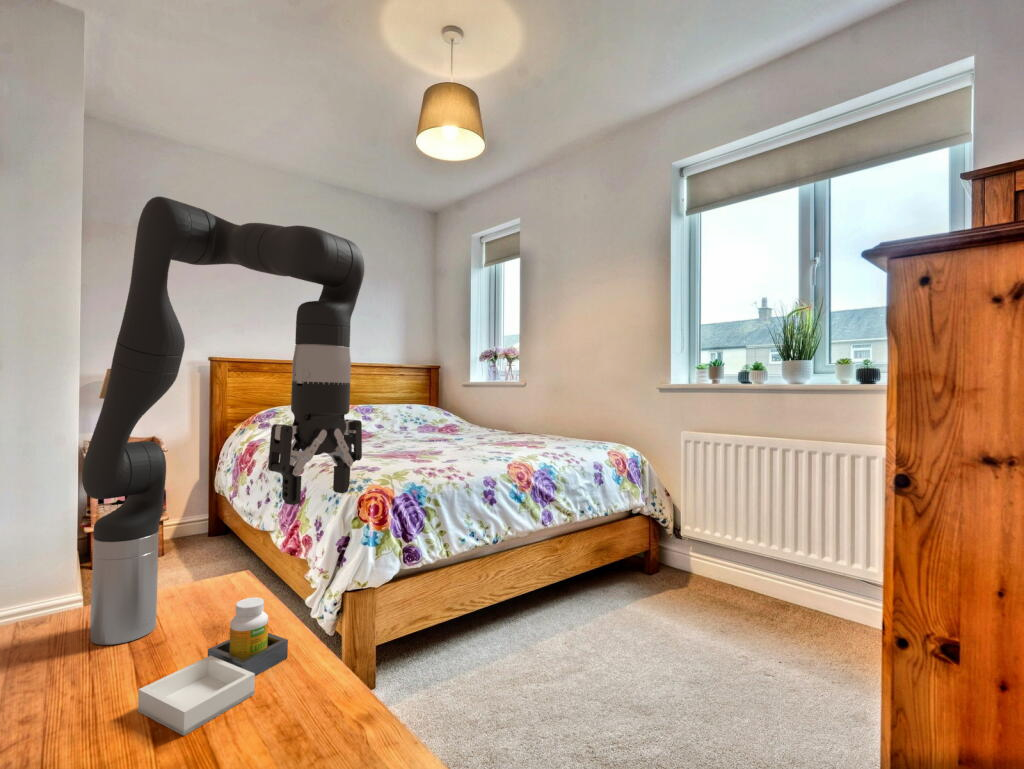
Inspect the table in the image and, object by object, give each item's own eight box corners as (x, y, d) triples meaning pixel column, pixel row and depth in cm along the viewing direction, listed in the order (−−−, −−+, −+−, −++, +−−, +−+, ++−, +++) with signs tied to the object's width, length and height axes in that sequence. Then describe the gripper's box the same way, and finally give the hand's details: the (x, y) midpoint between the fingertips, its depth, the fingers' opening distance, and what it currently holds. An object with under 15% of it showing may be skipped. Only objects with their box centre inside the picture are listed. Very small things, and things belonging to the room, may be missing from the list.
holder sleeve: (207, 668, 81) (207, 649, 81) (253, 645, 88) (254, 627, 88) (242, 683, 77) (242, 663, 77) (287, 658, 84) (287, 639, 84)
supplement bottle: (251, 675, 79) (253, 611, 79) (220, 670, 80) (222, 607, 80) (274, 657, 85) (276, 597, 85) (245, 652, 86) (247, 593, 86)
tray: (138, 711, 70) (138, 689, 70) (209, 675, 79) (210, 655, 79) (183, 736, 65) (184, 712, 65) (254, 694, 74) (254, 673, 74)
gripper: (339, 379, 79) (335, 486, 79) (257, 377, 66) (252, 504, 66) (378, 381, 76) (374, 492, 76) (299, 379, 63) (294, 512, 63)
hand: (317, 498), depth 71 cm, fingers open, 8 cm apart
